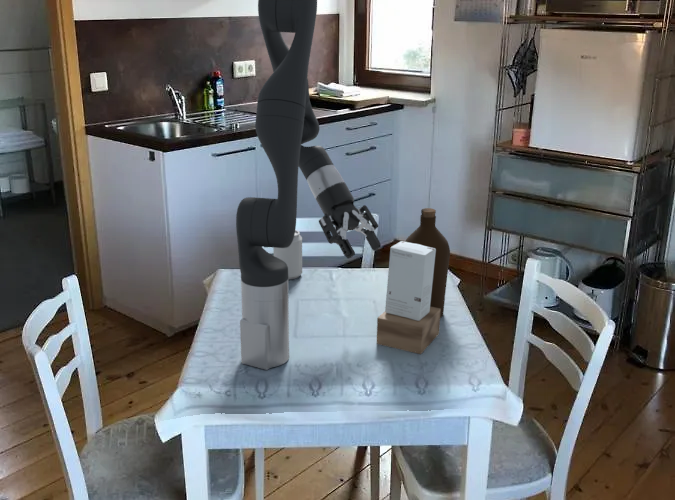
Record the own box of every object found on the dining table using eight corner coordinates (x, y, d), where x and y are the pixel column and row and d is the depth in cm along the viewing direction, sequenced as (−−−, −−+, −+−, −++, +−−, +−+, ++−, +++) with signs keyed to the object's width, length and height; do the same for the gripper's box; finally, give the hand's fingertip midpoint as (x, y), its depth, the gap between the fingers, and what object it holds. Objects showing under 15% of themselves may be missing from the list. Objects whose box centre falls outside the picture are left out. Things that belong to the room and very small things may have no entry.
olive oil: (419, 300, 178) (424, 200, 169) (455, 313, 171) (462, 210, 162) (390, 313, 170) (394, 209, 162) (427, 327, 163) (433, 219, 155)
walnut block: (420, 354, 151) (422, 327, 149) (376, 343, 155) (377, 317, 153) (439, 333, 160) (440, 308, 158) (396, 324, 165) (397, 299, 163)
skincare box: (384, 313, 155) (387, 247, 151) (396, 303, 160) (399, 239, 156) (421, 322, 152) (424, 254, 147) (432, 312, 157) (436, 246, 152)
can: (304, 271, 196) (304, 228, 192) (300, 281, 189) (299, 237, 185) (276, 269, 197) (275, 227, 193) (271, 279, 190) (270, 235, 186)
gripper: (316, 185, 156) (353, 251, 153) (360, 177, 166) (395, 238, 163) (298, 204, 161) (332, 267, 158) (342, 194, 171) (375, 254, 168)
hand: (364, 252), depth 160 cm, fingers open, 8 cm apart
